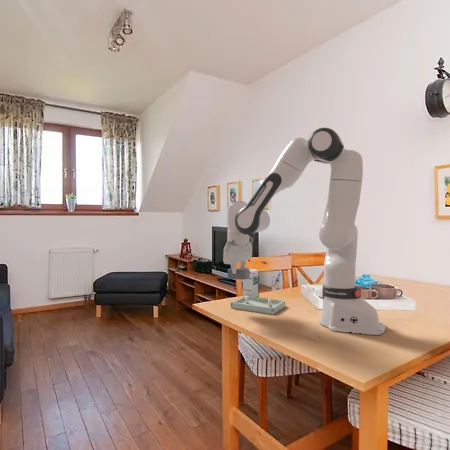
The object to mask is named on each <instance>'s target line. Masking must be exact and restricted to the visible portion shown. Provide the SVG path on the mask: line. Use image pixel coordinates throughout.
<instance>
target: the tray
mask: <svg viewBox="0 0 450 450" xmlns="http://www.w3.org/2000/svg"><path fill="white" fill-rule="evenodd" d="M285 307H286V300H282V299H276V298H268V297H260V296H259V297H252V296H244V297H243V296H242V297H239V298H238V299H235V300H233V301H231V302H230V309H235V310H240V311H241V310H243V311H246V312H255V313H261V314H268V315H274V314H277V312H279V311H280V310H282V309H284V308H285Z"/></svg>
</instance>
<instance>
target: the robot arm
mask: <svg viewBox="0 0 450 450" xmlns="http://www.w3.org/2000/svg"><path fill="white" fill-rule="evenodd" d="M362 156H363V155H362V154H360V153H359V152H358V151H356V150H353V149H346V148H345V146H344V142H343V141H342V138H341V137H340V135H339V134H338V133H337V132H336V131H335V130H334V129H332V128H330V127H319V128H317V129H316V130H314V131H313V132H312V133H311V134H310V135H309V137H308V139H306V138H303V137H295V138H292V139H291V140H290V142H289V143H288V144H287V145H286V147H284V149H283V150H282V152H281V153H280V155H279V156H278V158H277V160H276V161H275V163H274V165H273V167H272V168H271V169H270V171H269V173H268V174H267V175H266V177H265V179H264V180H263V181H262V183H261V184H260V186H258V188H257V190H256V191H255V192H254V194H253V196H252V197H251V198H250V200H249V202H248V203H247V202H246V201H243V200H241V201H235V202H232V203H230V204H228V206H227V210H226V211H227V212H226V224H227V234H226V235H227V241H226V243H225V245H224V248H223V255H222V257H223V258H222V259H223V260H222V261H223V264H225V265H230V268H232V273H233V274H236V273H238V269H237V268H246V267H245V266H246V263H247V261H248V260H251V259H252V257H253V244H252V243H253V242H254V240H253V237H251V236H250V235H251V234H255V233H259V232H263V231H265V230H267V228H269V225H270V224H271V223H270V222H271V218H270V216H269V214H268V212H267V211H265V209H266V207H267V206H268V204H269V203H270V201H271V200H272V199H273V198H274V196H276V194H278V193H279V192H280V191H284V190H286V189H287V188H291V187H292V186H294V184H296V182H298V180H299V178H301V175H302V174H303V172H304V171H305V169H306V168H307V166H308V165H309V164H310V162H312V161H314V162H317V163H322V164H328V165H330V170H331V171H330V178H329V184H328V185H329V186H328V195H327V201H326V205H325V206H326V207H325V208H324V209H325V210H324V213H323V217H322V221H321V225H320V229H319V232H318V238H319V241H320V242H321V244H322V245H323V246H324V247H326V251H325V258H324V262H323V285H322V287H321V288H322V300H323V301H322V308H321V314H320V318H319V320H318V321H319V323H320V325H322V326H324V327H326V328H328V329H329V330H330V331H333V332H341V333H349V332H352V333H351V334H359V333H361V335H369V336H370V335H371V336H379V335H382V334H384V333H385V332H386V329H387V326H386V324H385V323H384V322H383V321H381V320H380V319H379V313H378V311H377V310H376V308H375V307H374V306H373V305H372V304H370V303H369V302H367V301H366V300H365V298H364V299H363V298H362V288H361V287H360V288H359V287H358V286H356V263H357V262H356V261H357V250H358V236H359V235H358V228H357V225H356V224H355V223H356V217H357V213H358V209H359V206H360V201H361V191H362V187H363V186H362V185H363V176H364V171H363V170H364V168H363V167H364V164H363V163H364V161H363V157H362ZM237 263H240V266H239V267H237Z"/></svg>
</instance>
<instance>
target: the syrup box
mask: <svg viewBox="0 0 450 450" xmlns="http://www.w3.org/2000/svg"><path fill="white" fill-rule="evenodd" d="M249 273H250V278H248V279H246V280H242V297H244V296H252V297H260V290H259V289H260V287H259V286H260V285H259V269H256V268H249Z"/></svg>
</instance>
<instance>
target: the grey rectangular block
mask: <svg viewBox="0 0 450 450" xmlns="http://www.w3.org/2000/svg"><path fill="white" fill-rule="evenodd" d="M236 268H237V269H238V273H236V274H233V273H232V268H231V267H230V268H228V269H227V279H228V280H241V281H243V280H246V279H248V278H250V273H249V269H250V268H247V267H245V268H239V267H236Z"/></svg>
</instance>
